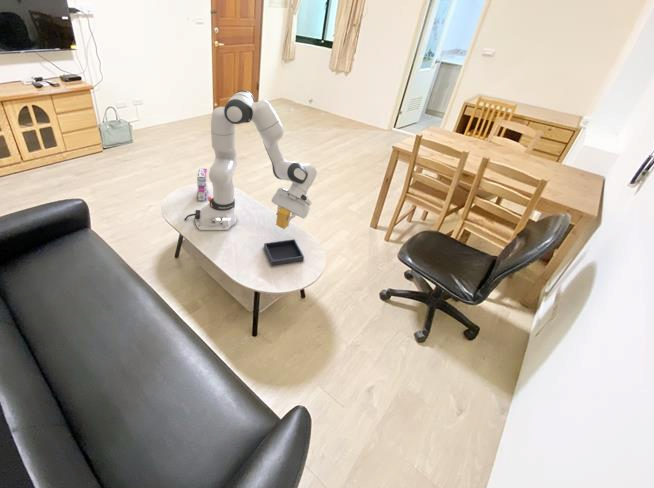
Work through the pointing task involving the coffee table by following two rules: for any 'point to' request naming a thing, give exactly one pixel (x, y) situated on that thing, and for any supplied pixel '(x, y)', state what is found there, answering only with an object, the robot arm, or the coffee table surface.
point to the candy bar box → (202, 184)
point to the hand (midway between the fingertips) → (282, 218)
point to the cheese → (282, 218)
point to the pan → (283, 252)
